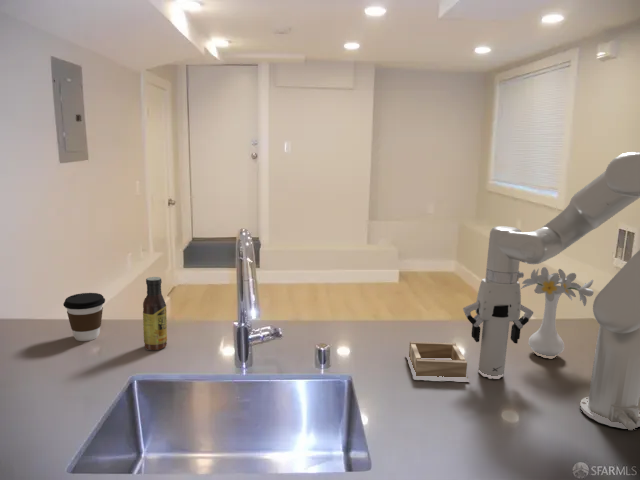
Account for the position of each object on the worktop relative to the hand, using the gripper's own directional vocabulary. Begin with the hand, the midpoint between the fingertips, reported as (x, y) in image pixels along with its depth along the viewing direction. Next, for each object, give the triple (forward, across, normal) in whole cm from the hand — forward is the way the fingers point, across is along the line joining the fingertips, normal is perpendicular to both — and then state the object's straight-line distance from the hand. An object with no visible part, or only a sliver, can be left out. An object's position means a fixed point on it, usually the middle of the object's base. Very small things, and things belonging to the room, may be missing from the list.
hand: (494, 340), depth 129 cm
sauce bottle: (+10, +91, -10) cm, 92 cm away
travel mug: (+10, 0, 0) cm, 10 cm away
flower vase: (+10, -20, -14) cm, 26 cm away
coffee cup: (+10, +113, -15) cm, 114 cm away
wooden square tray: (+9, +14, -2) cm, 17 cm away
